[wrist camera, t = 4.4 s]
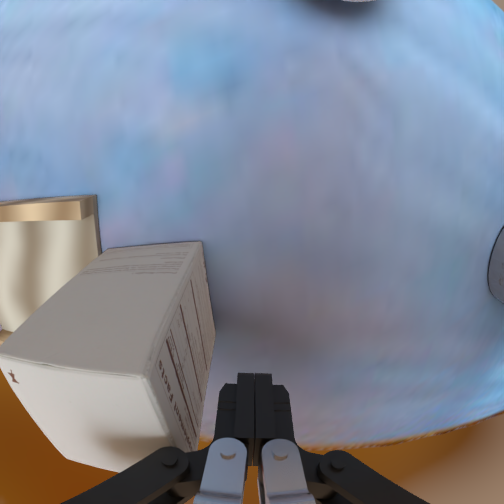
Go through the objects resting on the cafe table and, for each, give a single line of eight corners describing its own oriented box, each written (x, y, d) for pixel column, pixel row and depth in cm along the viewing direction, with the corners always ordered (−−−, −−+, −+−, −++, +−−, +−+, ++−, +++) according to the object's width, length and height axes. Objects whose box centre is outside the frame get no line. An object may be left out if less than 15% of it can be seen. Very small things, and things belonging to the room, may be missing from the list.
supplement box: (129, 333, 21) (61, 459, 10) (106, 245, 19) (-14, 349, 7) (218, 334, 21) (195, 488, 9) (206, 238, 19) (143, 377, 7)
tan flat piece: (96, 194, 18) (79, 200, 15) (122, 359, 22) (113, 377, 20) (-23, 204, 17) (-40, 210, 15) (9, 335, 22) (-3, 348, 19)
